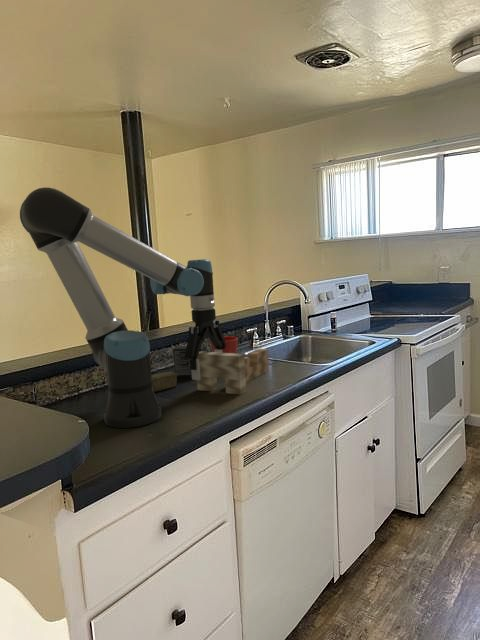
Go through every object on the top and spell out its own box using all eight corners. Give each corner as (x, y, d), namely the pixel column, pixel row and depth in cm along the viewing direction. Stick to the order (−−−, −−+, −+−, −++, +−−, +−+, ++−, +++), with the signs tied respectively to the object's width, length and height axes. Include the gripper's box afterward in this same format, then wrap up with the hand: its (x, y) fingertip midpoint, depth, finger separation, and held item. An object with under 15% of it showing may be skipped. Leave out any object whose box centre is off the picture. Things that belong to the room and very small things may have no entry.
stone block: (178, 387, 162) (177, 372, 161) (148, 395, 155) (146, 380, 154) (169, 384, 167) (168, 369, 166) (139, 391, 159) (138, 377, 159)
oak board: (238, 386, 158) (237, 362, 157) (229, 385, 160) (227, 361, 159) (268, 370, 177) (267, 349, 176) (260, 369, 179) (259, 348, 178)
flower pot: (213, 360, 200) (211, 336, 198) (239, 358, 199) (238, 335, 198) (210, 366, 189) (208, 341, 188) (238, 364, 189) (237, 340, 187)
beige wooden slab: (246, 391, 152) (244, 354, 150) (240, 394, 149) (238, 356, 147) (203, 387, 160) (201, 351, 158) (197, 389, 157) (195, 353, 155)
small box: (206, 372, 180) (204, 344, 178) (203, 376, 173) (201, 348, 172) (178, 373, 181) (176, 345, 180) (174, 377, 175) (172, 349, 173)
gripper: (189, 314, 141) (195, 385, 144) (233, 303, 162) (237, 365, 165) (169, 314, 144) (175, 383, 147) (214, 303, 166) (219, 364, 169)
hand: (208, 374), depth 156 cm, fingers open, 13 cm apart
